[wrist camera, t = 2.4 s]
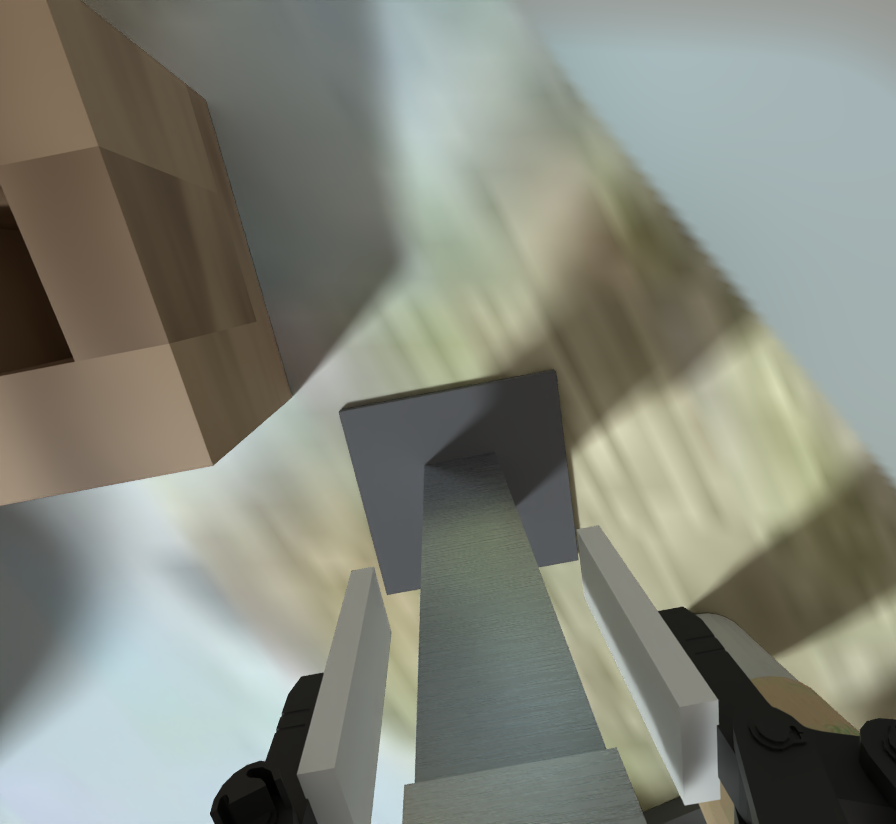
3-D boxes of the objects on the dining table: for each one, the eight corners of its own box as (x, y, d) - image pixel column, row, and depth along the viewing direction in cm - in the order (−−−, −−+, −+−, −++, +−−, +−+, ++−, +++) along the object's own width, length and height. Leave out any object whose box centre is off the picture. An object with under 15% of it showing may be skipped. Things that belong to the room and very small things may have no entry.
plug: (435, 530, 23) (446, 1053, 7) (420, 462, 22) (397, 905, 6) (508, 517, 23) (673, 1015, 7) (497, 448, 22) (662, 861, 6)
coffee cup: (810, 616, 26) (1297, 1050, 11) (720, 737, 28) (1030, 1226, 14) (665, 563, 24) (1007, 978, 10) (583, 695, 27) (764, 1187, 12)
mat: (387, 589, 24) (386, 594, 24) (340, 409, 21) (338, 412, 21) (576, 555, 24) (578, 560, 24) (553, 369, 21) (555, 371, 21)
